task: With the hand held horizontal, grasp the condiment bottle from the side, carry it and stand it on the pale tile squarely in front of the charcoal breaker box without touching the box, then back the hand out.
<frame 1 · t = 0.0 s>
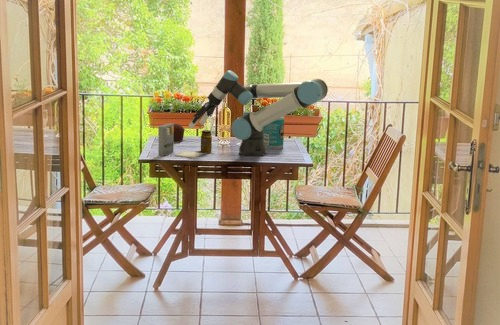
hand: (195, 125, 396), 15 cm above the table, tool tilted 35°, fingers open, 13 cm apart
muffin: (175, 140, 434), on the table
breaker box: (166, 153, 393), on the table
tile: (189, 155, 392), on the table
food can: (272, 147, 422), on the table
condiment: (204, 152, 402), on the table
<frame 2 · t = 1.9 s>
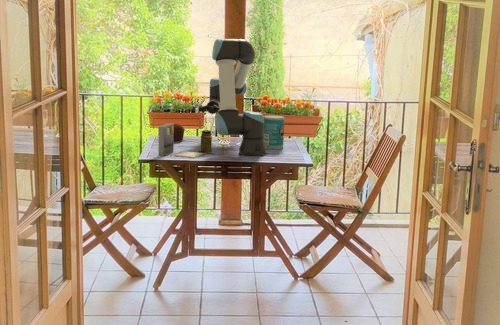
hand: (208, 111, 407), 21 cm above the table, tool horizontal, fingers open, 13 cm apart
nothing on the table moved.
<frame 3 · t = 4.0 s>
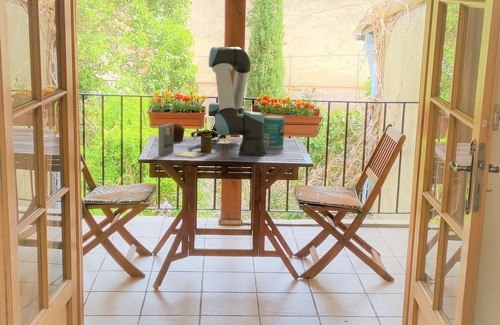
hand: (206, 137, 407), 7 cm above the table, tool horizontal, fingers open, 13 cm apart
nothing on the table moved.
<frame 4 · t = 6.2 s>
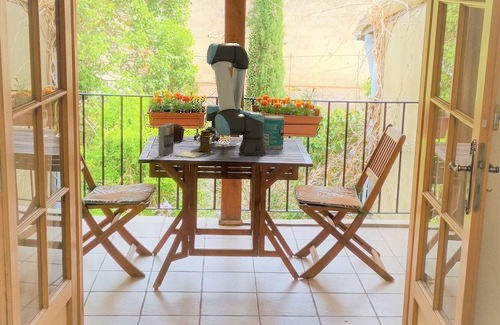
hand: (203, 141, 395), 7 cm above the table, tool horizontal, fingers closed on condiment, 6 cm apart
condiment: (204, 152, 402), on the table, touching gripper
everything else where it was.
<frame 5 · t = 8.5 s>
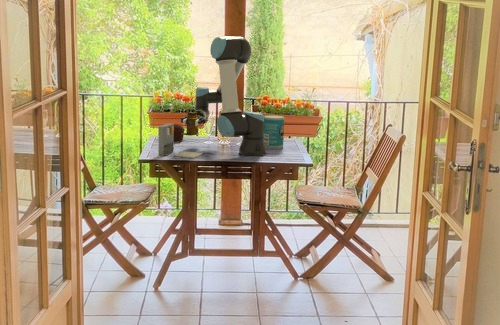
hand: (190, 123, 387), 18 cm above the table, tool horizontal, fingers closed on condiment, 6 cm apart
condiment: (190, 134, 393), point 11 cm above the table, touching gripper
everything else where it was.
when the fingers open (9 cm above the table, at t = 10.8 s): condiment stays where it is, resting on tile.
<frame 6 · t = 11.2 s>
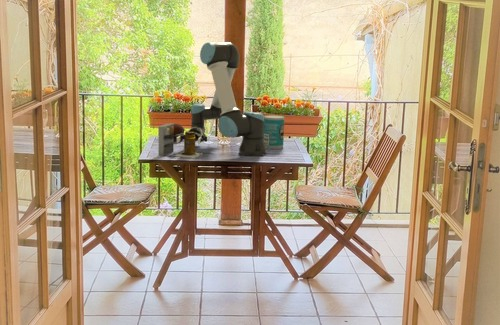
hand: (188, 140, 386), 9 cm above the table, tool horizontal, fingers open, 11 cm apart
condiment: (188, 154, 392), resting on tile
everything else where it was.
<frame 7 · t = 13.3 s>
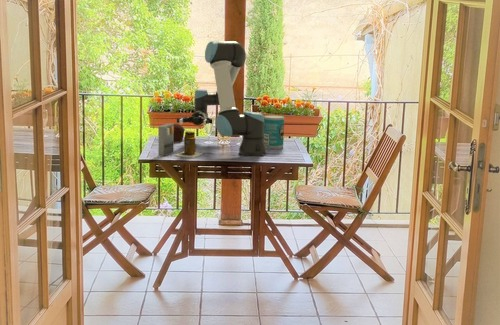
hand: (192, 122, 400), 16 cm above the table, tool horizontal, fingers open, 13 cm apart
nothing on the table moved.
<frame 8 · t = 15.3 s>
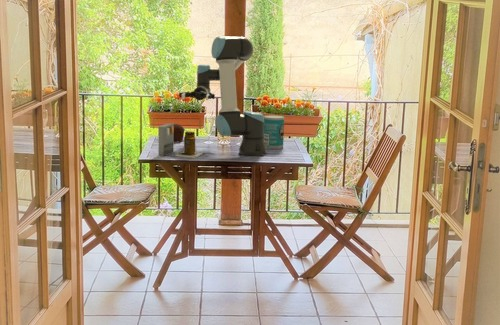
hand: (194, 97, 399), 30 cm above the table, tool horizontal, fingers open, 13 cm apart
nothing on the table moved.
at the end: condiment inside the target area on the tile (0.5 cm from its centre), point 0.4 cm above the tile's base; condiment tilted 0°; condiment touching tile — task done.
